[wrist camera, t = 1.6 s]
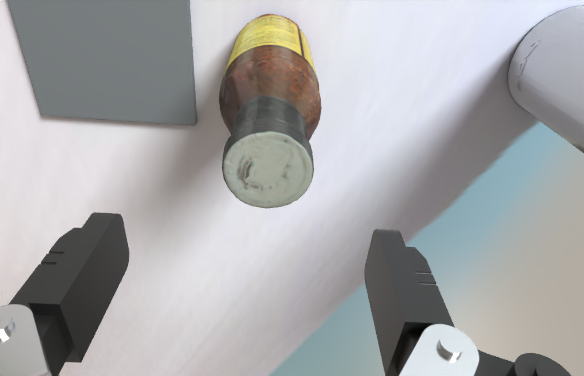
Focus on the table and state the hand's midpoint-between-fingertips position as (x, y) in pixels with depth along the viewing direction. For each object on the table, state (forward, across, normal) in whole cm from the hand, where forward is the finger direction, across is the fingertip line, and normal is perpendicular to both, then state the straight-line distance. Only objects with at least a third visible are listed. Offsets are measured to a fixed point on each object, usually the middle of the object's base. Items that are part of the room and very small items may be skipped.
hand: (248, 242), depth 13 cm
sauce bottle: (+25, 0, 0) cm, 25 cm away
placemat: (+25, +14, +1) cm, 28 cm away
